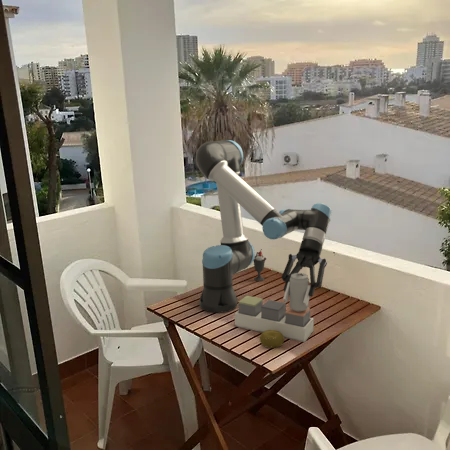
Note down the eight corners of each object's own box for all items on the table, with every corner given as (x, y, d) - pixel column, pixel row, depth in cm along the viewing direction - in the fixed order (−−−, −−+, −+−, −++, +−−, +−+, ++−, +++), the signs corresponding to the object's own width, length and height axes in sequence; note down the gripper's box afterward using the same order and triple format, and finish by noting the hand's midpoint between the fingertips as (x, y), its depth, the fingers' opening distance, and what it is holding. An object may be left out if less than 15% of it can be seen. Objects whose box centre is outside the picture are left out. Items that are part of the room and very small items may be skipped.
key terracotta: (285, 327, 160) (285, 311, 158) (292, 320, 165) (292, 304, 164) (303, 331, 156) (303, 315, 155) (309, 323, 162) (310, 307, 160)
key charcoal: (261, 322, 164) (261, 306, 162) (268, 315, 169) (269, 299, 168) (278, 326, 161) (278, 309, 159) (285, 318, 166) (285, 303, 165)
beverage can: (310, 306, 161) (311, 273, 158) (305, 313, 155) (306, 279, 152) (292, 303, 163) (292, 271, 160) (287, 310, 158) (287, 277, 155)
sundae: (262, 282, 210) (262, 250, 207) (249, 280, 214) (249, 248, 210) (269, 278, 216) (269, 247, 212) (256, 275, 219) (256, 245, 215)
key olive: (238, 317, 168) (238, 301, 167) (246, 310, 174) (246, 295, 172) (254, 320, 165) (254, 305, 164) (262, 313, 171) (262, 298, 169)
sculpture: (272, 341, 149) (254, 332, 155) (272, 352, 150) (254, 343, 156) (289, 333, 154) (271, 325, 160) (288, 344, 155) (271, 336, 161)
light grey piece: (234, 326, 168) (234, 313, 167) (246, 316, 176) (245, 304, 175) (304, 342, 156) (304, 328, 155) (313, 331, 163) (313, 318, 162)
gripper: (341, 251, 163) (325, 312, 153) (289, 245, 173) (271, 301, 163) (337, 240, 158) (320, 303, 148) (284, 234, 167) (265, 292, 157)
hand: (295, 302), depth 155 cm, fingers closed on beverage can, 6 cm apart
